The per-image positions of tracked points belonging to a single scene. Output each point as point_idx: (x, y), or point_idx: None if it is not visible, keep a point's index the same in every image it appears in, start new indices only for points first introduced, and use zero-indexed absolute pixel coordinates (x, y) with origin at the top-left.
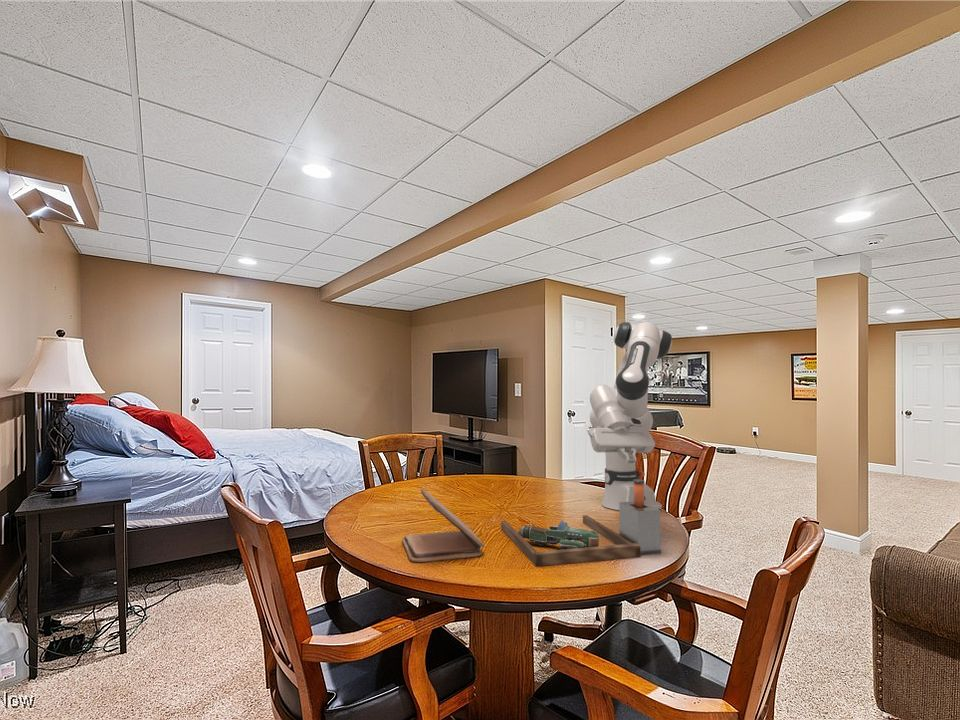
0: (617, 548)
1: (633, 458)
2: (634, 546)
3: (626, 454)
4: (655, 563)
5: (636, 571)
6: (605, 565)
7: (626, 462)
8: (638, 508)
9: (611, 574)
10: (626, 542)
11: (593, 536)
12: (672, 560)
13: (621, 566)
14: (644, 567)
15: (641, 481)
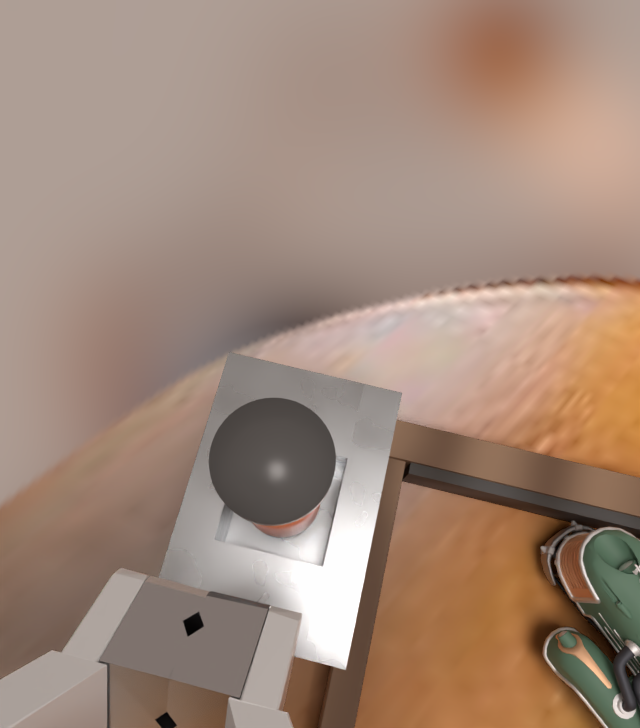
0: (515, 448)
1: (168, 598)
2: (419, 426)
3: (261, 722)
4: (378, 345)
5: (514, 321)
6: (599, 425)
7: (291, 670)
8: (343, 444)
9: (629, 343)
10: (395, 512)
11: (634, 537)
12: (283, 336)
13: (539, 385)
14: (454, 336)
15: (292, 402)
